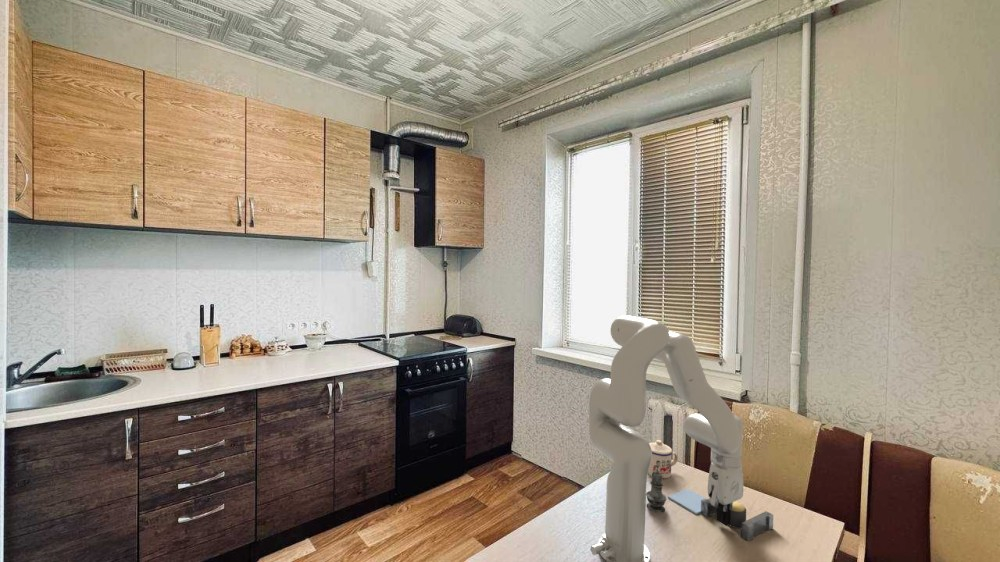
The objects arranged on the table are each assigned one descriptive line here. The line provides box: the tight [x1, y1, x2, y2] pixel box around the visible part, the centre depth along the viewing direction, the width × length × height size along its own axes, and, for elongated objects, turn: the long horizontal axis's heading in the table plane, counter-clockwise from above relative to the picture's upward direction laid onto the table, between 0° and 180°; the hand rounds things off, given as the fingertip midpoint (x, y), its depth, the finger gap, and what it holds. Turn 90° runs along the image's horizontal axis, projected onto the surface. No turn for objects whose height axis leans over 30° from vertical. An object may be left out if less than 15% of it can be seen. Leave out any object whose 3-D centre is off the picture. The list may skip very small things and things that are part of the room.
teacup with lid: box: [648, 439, 679, 479], centre depth 143 cm, size 12×9×12 cm
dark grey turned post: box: [646, 469, 668, 514], centre depth 121 cm, size 6×6×12 cm
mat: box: [667, 488, 707, 516], centre depth 125 cm, size 10×10×1 cm
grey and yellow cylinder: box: [728, 500, 747, 529], centre depth 115 cm, size 6×6×5 cm
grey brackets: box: [700, 497, 774, 542], centre depth 116 cm, size 12×14×4 cm
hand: (723, 522), depth 113 cm, fingers closed
